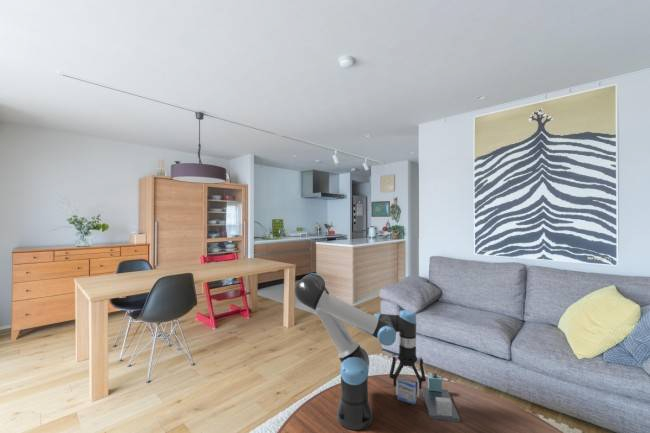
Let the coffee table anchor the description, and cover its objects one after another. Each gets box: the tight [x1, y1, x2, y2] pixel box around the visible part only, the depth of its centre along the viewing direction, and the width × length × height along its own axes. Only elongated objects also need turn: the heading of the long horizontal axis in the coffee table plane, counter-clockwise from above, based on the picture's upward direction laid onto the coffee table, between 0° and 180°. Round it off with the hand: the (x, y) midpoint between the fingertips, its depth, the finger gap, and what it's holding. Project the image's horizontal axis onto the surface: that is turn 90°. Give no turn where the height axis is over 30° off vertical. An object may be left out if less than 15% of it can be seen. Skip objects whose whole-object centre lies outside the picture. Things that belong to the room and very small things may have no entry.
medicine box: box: [397, 376, 418, 405], centre depth 134 cm, size 8×4×9 cm, turn 62°
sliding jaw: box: [427, 372, 443, 392], centre depth 143 cm, size 6×3×8 cm, turn 81°
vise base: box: [421, 387, 461, 423], centre depth 133 cm, size 12×21×8 cm, turn 170°
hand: (407, 394), depth 134 cm, fingers closed on medicine box, 9 cm apart
